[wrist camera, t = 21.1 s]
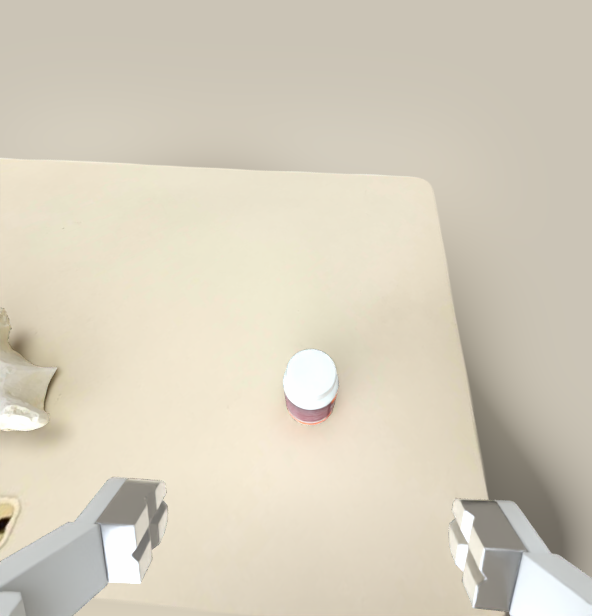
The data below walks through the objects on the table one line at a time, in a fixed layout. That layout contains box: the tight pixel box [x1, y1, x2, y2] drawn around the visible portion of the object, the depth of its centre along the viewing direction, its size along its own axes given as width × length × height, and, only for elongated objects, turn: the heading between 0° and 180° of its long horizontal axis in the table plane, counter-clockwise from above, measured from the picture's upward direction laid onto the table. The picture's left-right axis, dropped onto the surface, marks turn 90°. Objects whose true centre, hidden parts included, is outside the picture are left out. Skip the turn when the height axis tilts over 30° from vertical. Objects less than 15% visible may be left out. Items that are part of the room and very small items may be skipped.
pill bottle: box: [283, 349, 339, 425], centre depth 32 cm, size 5×5×8 cm
